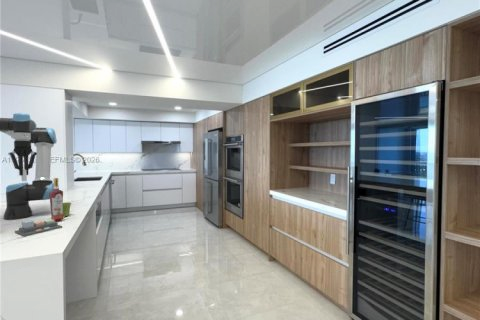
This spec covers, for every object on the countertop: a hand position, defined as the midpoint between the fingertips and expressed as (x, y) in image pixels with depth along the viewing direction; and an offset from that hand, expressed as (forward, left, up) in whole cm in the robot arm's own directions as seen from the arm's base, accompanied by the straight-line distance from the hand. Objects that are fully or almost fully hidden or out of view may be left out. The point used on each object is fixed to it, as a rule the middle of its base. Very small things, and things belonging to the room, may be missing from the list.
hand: (24, 180), depth 148 cm
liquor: (-4, +18, -29) cm, 34 cm away
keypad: (+9, +3, -28) cm, 30 cm away
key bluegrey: (+9, -2, -25) cm, 27 cm away
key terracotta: (+9, +3, -27) cm, 29 cm away
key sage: (+9, +8, -27) cm, 30 cm away
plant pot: (-13, +26, -29) cm, 41 cm away
